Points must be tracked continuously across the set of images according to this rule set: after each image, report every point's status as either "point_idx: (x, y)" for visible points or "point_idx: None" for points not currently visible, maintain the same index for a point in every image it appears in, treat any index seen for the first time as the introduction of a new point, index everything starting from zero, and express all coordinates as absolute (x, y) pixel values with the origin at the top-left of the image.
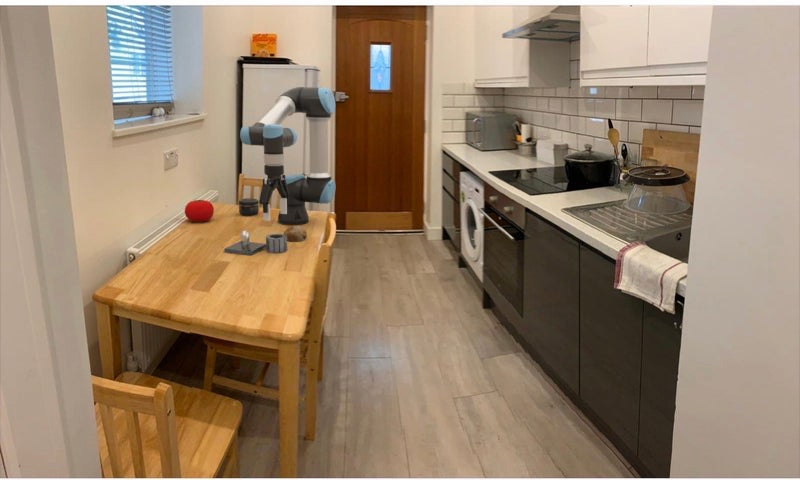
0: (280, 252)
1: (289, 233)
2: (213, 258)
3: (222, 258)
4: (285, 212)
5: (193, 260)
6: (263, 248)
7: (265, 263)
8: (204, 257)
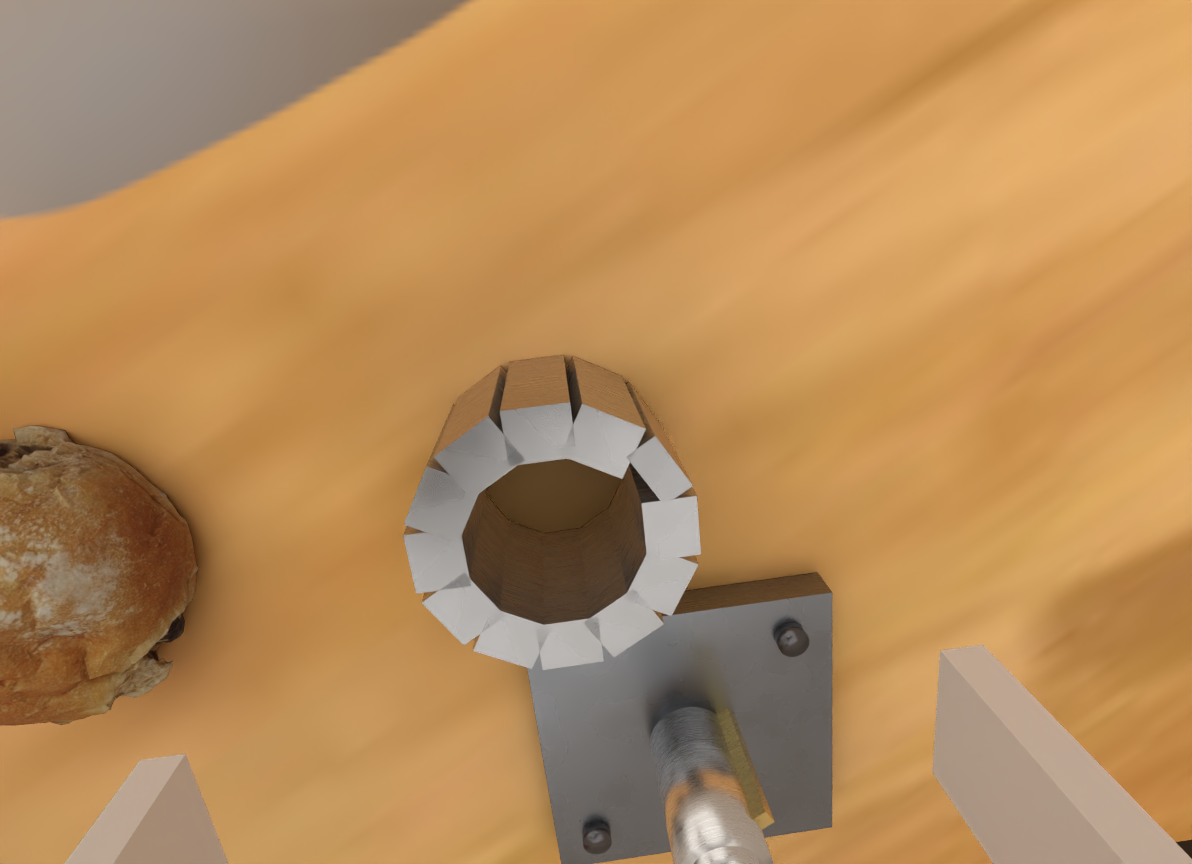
0: (619, 376)
1: (134, 603)
2: None
3: None
4: (168, 798)
5: None
6: None
7: (991, 298)
8: None
